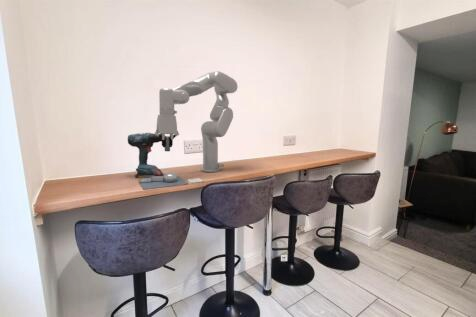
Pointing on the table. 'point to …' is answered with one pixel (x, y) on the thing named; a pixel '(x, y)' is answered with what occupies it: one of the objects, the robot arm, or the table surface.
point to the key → (167, 143)
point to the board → (162, 184)
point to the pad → (195, 180)
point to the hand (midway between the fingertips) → (167, 146)
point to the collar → (160, 178)
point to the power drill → (145, 153)
